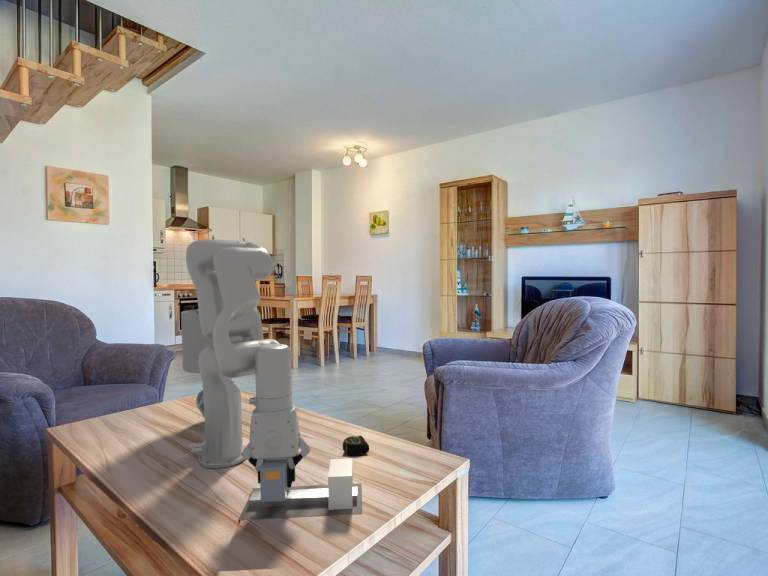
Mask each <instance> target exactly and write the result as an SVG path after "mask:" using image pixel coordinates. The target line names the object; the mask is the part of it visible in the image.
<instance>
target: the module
mask: <svg viewBox="0 0 768 576" xmlns="http://www.w3.org/2000/svg"><path fill="white" fill-rule="evenodd" d="M287 469H288V462H287V459H286V458H276V459H265V460H264V462H263V464H262V466H261V468H260V483H259V485H261V502H271V501H286V498H287V493H286V488H287Z"/></svg>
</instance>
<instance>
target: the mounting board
mask: <svg viewBox="0 0 768 576" xmlns="http://www.w3.org/2000/svg"><path fill="white" fill-rule="evenodd" d="M353 487H357V502H353V509H333V510H329V504H311V505H290V506H270V507H249V499H250V497H251V495H252V493H253V492H257V491H261V488H260V487H256V488H255V487H253V488H252V491H251V492H250V494H249V496H248V498H247V501H246V503H245V506H244V507H243V509H242V511H241V514H240V516H239V517H238V519H237V520H238V521H237V522H238V525H240V523H241V521H249V520H251V521H252V520H270V519H272V520H273V519H286V518H287V519H288V518H289V519H290V518H306V517H307V518H309V517H326V516H327V517H329V516H332V517H333V516H347V515H348V516H349V515H362V514H363V496H362V495H363V493H362V492H363V489H362V488H363V486H362V483H359V482H357V483H353ZM322 488H328V484H318V485H317V484H316V485H298V486H297V485H296V486H295V485H294V486H292V485H291V488H288V487H287V488H286V490H300V489H322Z"/></svg>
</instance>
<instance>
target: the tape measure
mask: <svg viewBox="0 0 768 576" xmlns="http://www.w3.org/2000/svg"><path fill="white" fill-rule="evenodd" d="M342 450H343V452H344V453H345V454H346V455H349V456H353V457H354V456H361V455H364V454H368V453H369V452H370V445H369V443H368V442H367V441H366V439H365V438H364V436H363V435H356V436H355V435H353V436H348V437H346V438H345V439H344V440H343V442H342Z"/></svg>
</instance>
